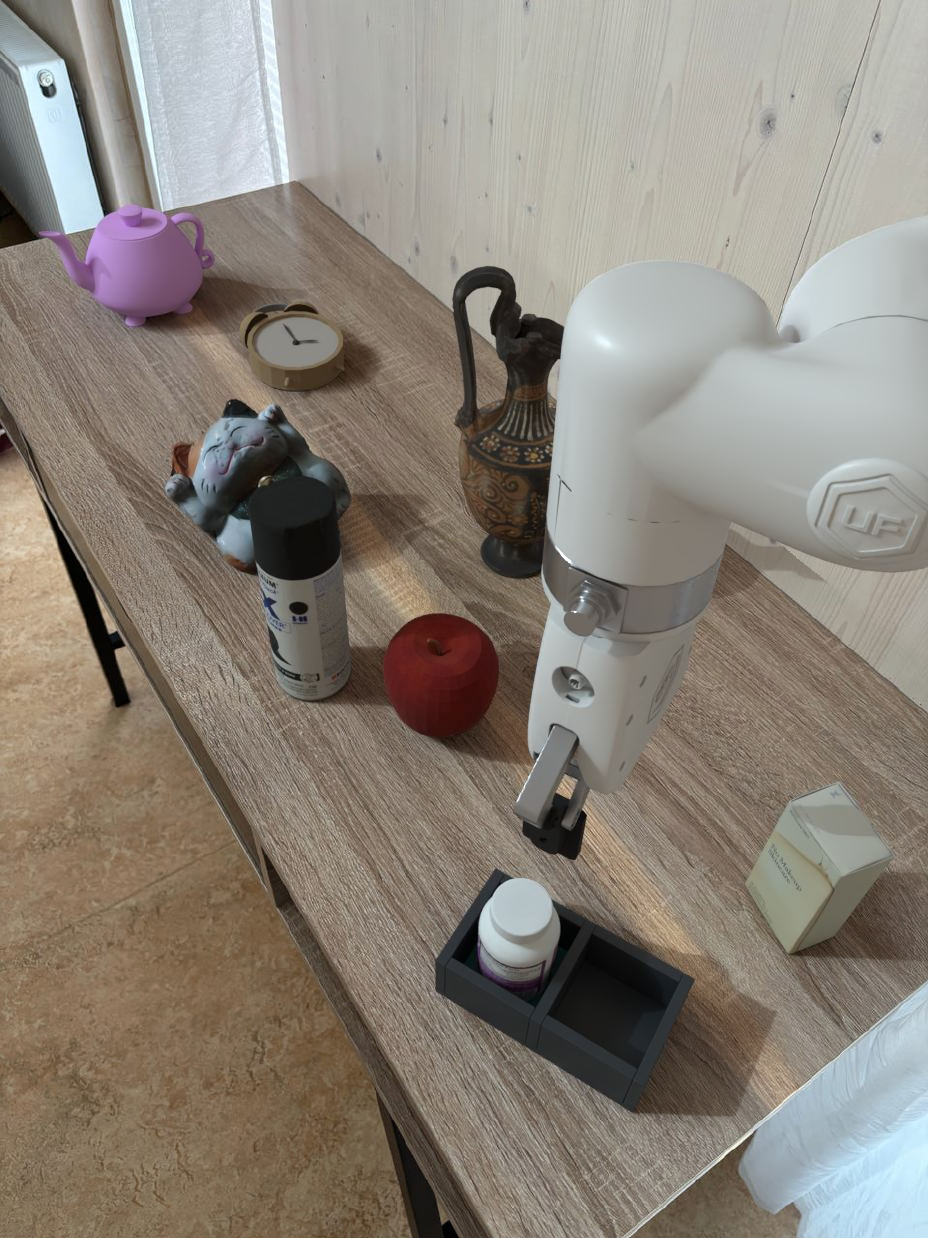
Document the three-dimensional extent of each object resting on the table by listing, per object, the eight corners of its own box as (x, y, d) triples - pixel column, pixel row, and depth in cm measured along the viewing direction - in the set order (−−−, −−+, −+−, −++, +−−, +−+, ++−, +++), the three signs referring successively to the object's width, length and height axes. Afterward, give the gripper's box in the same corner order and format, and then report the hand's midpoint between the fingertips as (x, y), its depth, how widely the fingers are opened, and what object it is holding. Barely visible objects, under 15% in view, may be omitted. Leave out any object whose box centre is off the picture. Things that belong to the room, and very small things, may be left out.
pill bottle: (504, 918, 74) (511, 851, 67) (566, 960, 72) (580, 896, 64) (460, 976, 71) (463, 913, 64) (524, 1022, 69) (534, 962, 62)
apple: (473, 660, 91) (476, 583, 84) (513, 743, 85) (520, 667, 78) (372, 688, 89) (366, 610, 81) (406, 775, 83) (403, 700, 75)
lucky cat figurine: (245, 600, 95) (157, 481, 88) (215, 562, 105) (135, 452, 98) (373, 509, 98) (299, 386, 90) (333, 480, 108) (263, 368, 100)
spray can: (267, 657, 91) (234, 485, 76) (339, 635, 93) (321, 464, 78) (288, 712, 87) (258, 542, 72) (363, 688, 89) (349, 518, 74)
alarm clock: (269, 382, 114) (220, 298, 121) (272, 413, 118) (224, 331, 125) (360, 356, 118) (308, 276, 124) (359, 387, 122) (309, 308, 128)
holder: (681, 1008, 70) (695, 978, 67) (632, 1113, 66) (644, 1087, 62) (492, 901, 75) (495, 867, 72) (434, 991, 71) (435, 960, 67)
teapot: (82, 353, 122) (53, 256, 113) (51, 298, 130) (21, 203, 121) (238, 311, 129) (223, 216, 120) (199, 261, 137) (182, 169, 128)
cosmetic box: (742, 884, 77) (783, 798, 68) (791, 865, 78) (838, 777, 69) (789, 959, 73) (840, 877, 64) (841, 937, 74) (897, 855, 65)
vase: (574, 595, 97) (615, 315, 74) (445, 589, 97) (447, 307, 75) (572, 514, 105) (608, 237, 82) (452, 508, 105) (456, 231, 83)
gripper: (626, 732, 37) (583, 937, 50) (780, 474, 47) (711, 699, 60) (452, 652, 40) (452, 867, 53) (633, 423, 50) (597, 650, 63)
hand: (591, 777), depth 56 cm, fingers open, 9 cm apart
